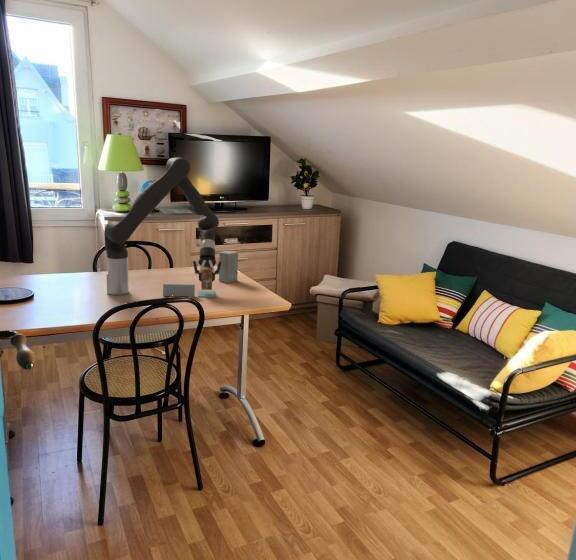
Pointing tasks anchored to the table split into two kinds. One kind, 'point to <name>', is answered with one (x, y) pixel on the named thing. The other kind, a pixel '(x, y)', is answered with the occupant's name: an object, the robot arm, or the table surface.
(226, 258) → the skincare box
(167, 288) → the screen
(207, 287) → the marked block
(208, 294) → the pad
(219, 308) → the table surface
